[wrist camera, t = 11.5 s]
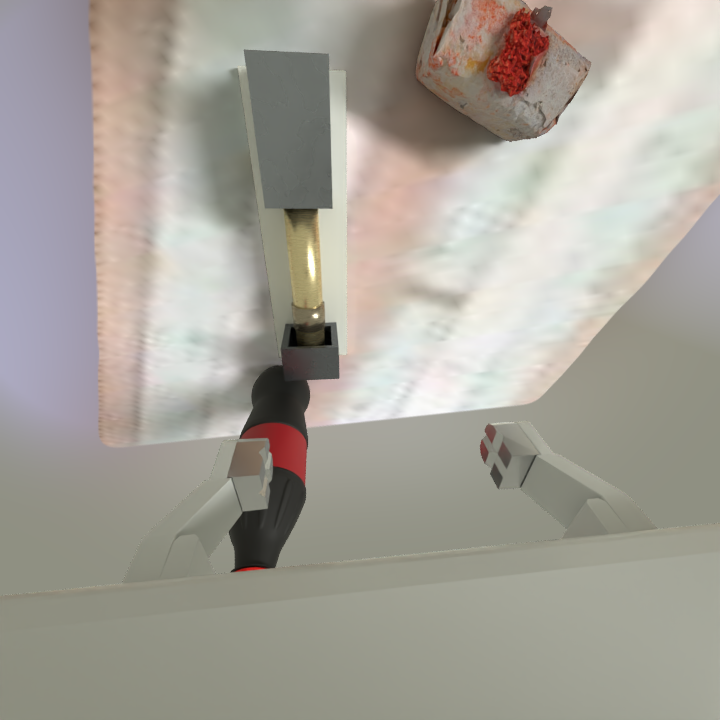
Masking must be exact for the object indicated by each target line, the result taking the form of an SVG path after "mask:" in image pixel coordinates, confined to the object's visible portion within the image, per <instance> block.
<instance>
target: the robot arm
mask: <svg viewBox="0 0 720 720" xmlns="http://www.w3.org/2000/svg"><path fill="white" fill-rule="evenodd" d="M485 433H486V434H487V435H486V436H485V437H484V438H483V439H482V441H481V445H480V450H481V456H482V459H483V461H484V463H485V464H486V465H487V466H489V467H490V468H491V473H490V474H491V476H492V478H493V480H494V482H495V484H496V485H497V488H498V489H514V488H521V490H522V491H523V492H524V493H525V494H526V495H528V496H529V497H530V498H531V499H532V500H534V501H535V502H536V503H537V504H538V505H539V506H540V507H542V508H543V509H544V510H545V511H547V513H549V514H550V515H551V516H552V517H553V518H554V519H556V520H557V521H558V522H559V523H560V524H561V525H563V526H564V527H565V528H566V529H567V530H566V531H565V533H564V534H563V536H562V537H561V539H555V540H545V541H535V542H526V543H516V544H506V545H496V546H486V547H476V548H466V549H456V550H446V551H436V552H427V553H417V554H408V555H397V556H388V557H378V558H369V559H358V560H349V561H340V562H329V563H319V564H309V565H300V566H290V567H280V568H270V569H260V570H250V571H240V572H231V573H221V574H216V573H215V571H214V569H213V567H212V565H211V563H210V561H209V559H208V558H209V557H210V556H211V554H212V553H213V552H214V550H215V549H216V547H217V546H218V545H219V544H220V542H221V541H222V539H223V538H224V537H225V536H226V534H227V533H228V532H229V530H230V529H231V528H232V526H233V525H234V524H235V522H236V521H237V520H238V518H239V517H240V516H241V514H242V512H243V511H252V510H261V509H268V502H269V496H270V488H269V483H270V481H271V480H272V474H273V458H272V453H270V452H269V448H270V443H269V439H268V438H255V439H237V440H224V441H223V442H222V444H221V446H220V449H219V452H218V455H217V458H216V461H215V464H214V467H213V470H212V473H211V476H210V479H209V480H204V481H203V482H202V483H201V484H200V485H199V486H198V487H197V488H196V489H195V490H193V491H192V492H191V493H190V494H189V495H188V496H187V497H186V498H185V499H184V500H183V501H182V502H181V503H179V504H178V505H177V506H176V507H175V508H174V509H173V510H172V511H171V512H170V513H169V514H167V515H166V516H165V517H164V518H163V519H162V520H161V521H160V522H159V523H158V524H157V525H156V526H155V527H153V528H152V529H151V530H150V531H149V532H148V533H147V534H146V535H145V536H144V537H143V538H142V540H141V542H140V544H139V546H138V549H137V551H136V553H135V555H134V557H133V560H132V562H131V564H130V566H129V568H128V570H127V573H126V575H125V577H124V579H123V581H122V583H121V584H112V585H102V586H91V587H82V588H72V589H62V590H52V591H42V592H32V593H22V594H12V595H1V596H0V720H720V523H712V524H702V525H692V526H682V527H673V528H663V529H658V528H657V527H656V526H655V525H654V524H653V523H652V522H651V520H650V519H649V518H648V517H647V516H646V515H645V514H644V512H643V511H642V510H641V509H640V508H639V507H638V506H637V505H636V503H635V502H634V501H633V500H632V499H631V498H630V497H629V495H627V494H626V493H624V492H622V491H621V490H619V489H617V488H616V487H614V486H612V485H610V484H609V483H607V482H605V481H604V480H602V479H600V478H598V477H597V476H595V475H593V474H592V473H590V472H588V471H587V470H585V469H583V468H581V467H580V466H578V465H576V464H575V463H573V462H571V461H569V460H568V459H566V458H564V457H563V456H561V455H559V454H554V453H553V452H552V450H551V449H550V448H549V447H548V445H547V444H546V443H545V441H544V440H543V439H542V437H541V436H540V435H539V433H538V432H537V431H536V430H535V428H534V427H533V426H532V424H531V423H530V422H528V421H520V422H506V423H491V424H488V425H487V426H486V428H485Z"/></svg>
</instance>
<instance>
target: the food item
mask: <svg viewBox="0 0 720 720" xmlns="http://www.w3.org/2000/svg"><path fill="white" fill-rule="evenodd" d="M549 10H550V12H548V11H549ZM537 12H538V14H536V13H537ZM551 12H552V8H551V7H547V6H544V7H543V8H541V9H538V8H535V9H534V10H533V11H532V10H530V8H529V7H528V6H527V5H526V3H524V2H523V1H522V0H437V2H436V4H435V6H434V8H433V11H432V13H431V16H430V20H429V23H428V26H427V29H426V32H425V35H424V39H423V42H422V45H421V48H420V51H419V55H418V58H417V64H416V72H415V76H416V77H417V80H419V81H420V82H421V83H422V84H423V85H424V86H425V87H426V88H427V89H429V90H430V91H431V92H432V93H434V94H435V95H436V96H438V97H439V98H440V99H442V100H443V101H445V102H446V103H447V104H449V105H450V106H452V107H453V108H455V109H456V110H458V111H459V112H461V113H462V114H464V115H467V116H469V117H470V118H471V119H472V120H473V121H475V122H476V123H478V124H480V125H483V126H484V127H485V128H486V129H488V130H489V131H490V132H492V133H493V134H495V135H497V136H498V137H500V138H502V139H504V140H506V141H510V142H512V141H517V140H522V139H531V138H537V137H539V136H541V135H543V134H545V133H547V132H548V131H549V130H550V129H551V128H552V127H553V126H554V125H555V124H557V122H558V118H559V116H560V115H561V114H562V112H563V111H564V110H565V108H566V107H567V106H568V104H569V103H570V102H571V101H572V99H573V98H574V96H575V94H576V93H577V91H578V89H579V88H580V86H581V85H582V83H583V81H584V80H585V78H586V76H587V74H588V71H589V69H590V66H591V62H590V61H588V60H587V59H586V58H585V57H582V55H581V54H580V53H579V52H577V51H576V49H575V48H574V47H572V46H571V45H570V44H569V43H568V42H567V41H566V40H565V39H564V38H563V37H561V36H560V35H559V34H558V33H557V32H556V31H554V30H553V29H552V28H551V27H550V26H549V25H548V24H547V20H548V19H549V18H550V16H551Z"/></svg>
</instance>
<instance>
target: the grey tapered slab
mask: <svg viewBox="0 0 720 720" xmlns="http://www.w3.org/2000/svg"><path fill="white" fill-rule="evenodd" d="M244 54H245V62H246V69H247V77H248V84H249V92H250V100H251V107H252V115H253V122H254V130H255V137H256V145H257V153H258V160H259V168H260V175H261V183H262V190H263V198H264V206H265V208H279V209H333V203H332V164H331V124H330V85H329V54H319V53H299V52H279V51H260V50H244Z"/></svg>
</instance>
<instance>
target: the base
mask: <svg viewBox="0 0 720 720" xmlns="http://www.w3.org/2000/svg"><path fill="white" fill-rule="evenodd" d="M237 67H238V74H239V81H240V88H241V95H242V102H243V109H244V116H245V123H246V130H247V137H248V144H249V151H250V158H251V165H252V172H253V179H254V186H255V193H256V200H257V207H258V214H259V221H260V228H261V235H262V242H263V249H264V256H265V263H266V269H267V276H268V283H269V290H270V297H271V304H272V311H273V318H274V325H275V332H276V339H277V346H278V353H279V358H282V356H281V344H282V339H283V334H284V329H285V324H293V315H292V305H291V304H292V302H293V299H292V289H291V279H290V270H289V260H288V250H287V240H286V231H285V221H284V211H283V209H279V208H265V206H264V198H263V190H262V183H261V175H260V168H259V160H258V153H257V145H256V137H255V130H254V122H253V115H252V107H251V100H250V92H249V84H248V77H247V69H246V66H237ZM329 85H330V124H331V164H332V203H333V209H318V211H319V232H320V253H321V274H322V295H323V301H324V303H325V323H329V322H336V324H337V335H338V346H339V355H347V152H346V71H342V70H329Z"/></svg>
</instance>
